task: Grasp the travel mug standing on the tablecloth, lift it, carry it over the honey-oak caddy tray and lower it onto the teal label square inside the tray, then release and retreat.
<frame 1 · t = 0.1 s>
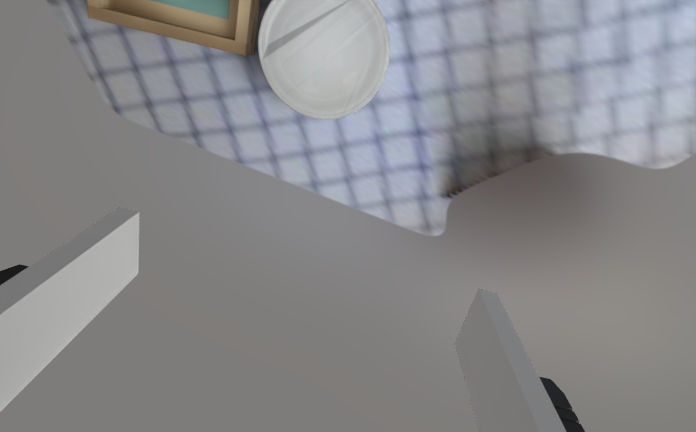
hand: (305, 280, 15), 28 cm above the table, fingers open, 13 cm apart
ramekin: (329, 49, 38), on the table
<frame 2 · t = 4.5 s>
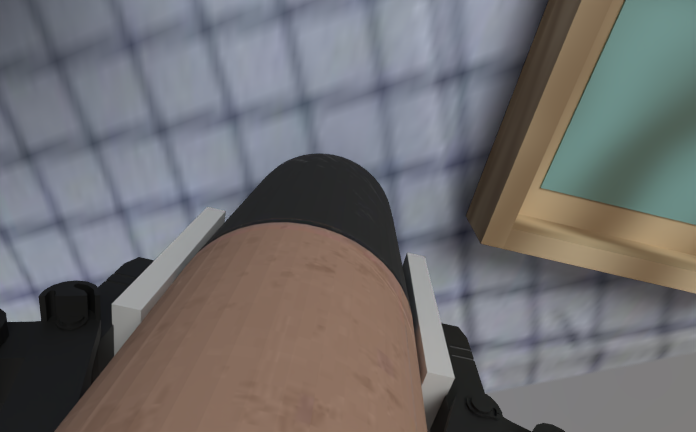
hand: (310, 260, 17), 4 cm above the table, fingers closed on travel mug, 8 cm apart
travel mug: (322, 218, 21), on the table, touching gripper
caddy tray: (672, 110, 18), on the table
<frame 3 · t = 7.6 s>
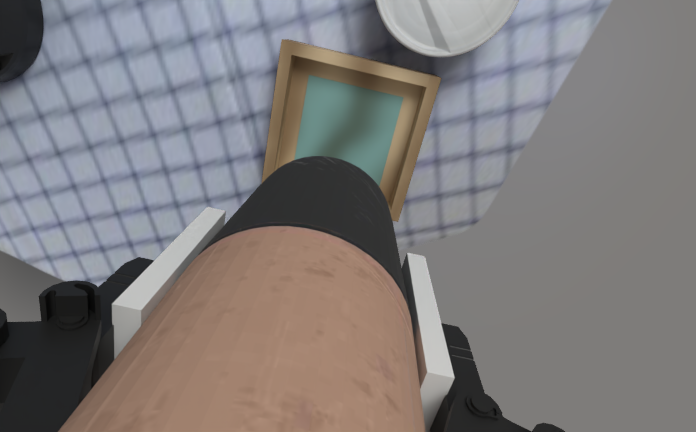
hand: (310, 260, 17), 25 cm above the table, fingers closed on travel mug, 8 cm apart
travel mug: (322, 220, 21), point 21 cm above the table, touching gripper
caddy tray: (346, 131, 40), on the table
when the fingers open (7 cm above the table, at t = 10.9 s): travel mug drops 2 cm, resting on caddy tray.
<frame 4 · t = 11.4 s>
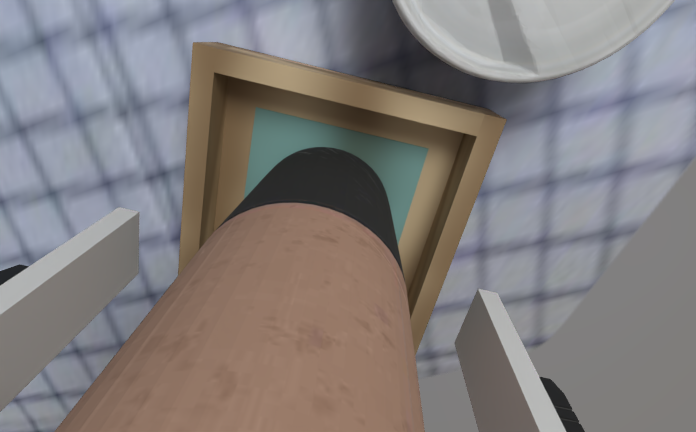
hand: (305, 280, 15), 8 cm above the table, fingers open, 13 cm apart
travel mug: (324, 207, 22), point 1 cm above the table, touching caddy tray
caddy tray: (326, 201, 23), on the table
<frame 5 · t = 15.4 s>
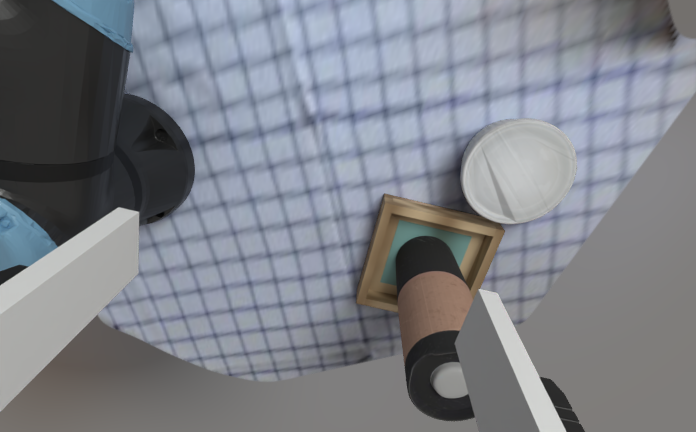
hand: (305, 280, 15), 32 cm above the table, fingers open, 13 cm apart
travel mug: (423, 259, 50), point 1 cm above the table, touching caddy tray
ramekin: (502, 160, 46), on the table
caddy tray: (423, 256, 51), on the table
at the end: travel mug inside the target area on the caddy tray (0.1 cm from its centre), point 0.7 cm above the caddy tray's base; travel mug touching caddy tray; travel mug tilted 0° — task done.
